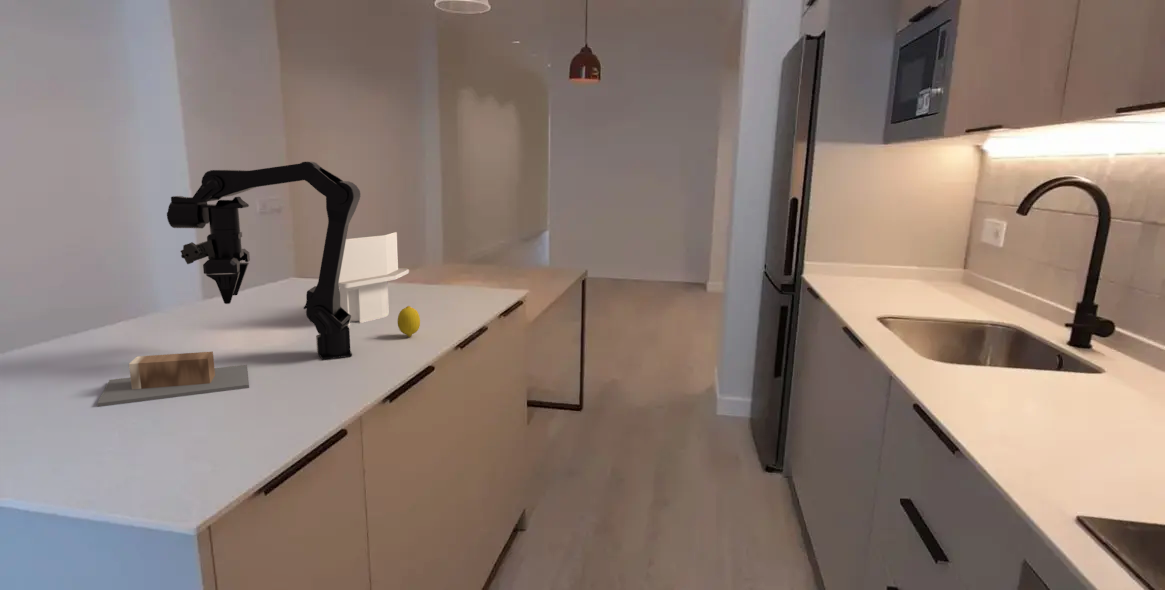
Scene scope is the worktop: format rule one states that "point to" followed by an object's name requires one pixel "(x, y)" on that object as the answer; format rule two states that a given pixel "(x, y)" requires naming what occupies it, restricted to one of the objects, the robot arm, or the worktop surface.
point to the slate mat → (174, 387)
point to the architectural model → (368, 276)
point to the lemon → (408, 321)
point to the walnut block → (172, 370)
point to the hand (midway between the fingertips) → (231, 299)
